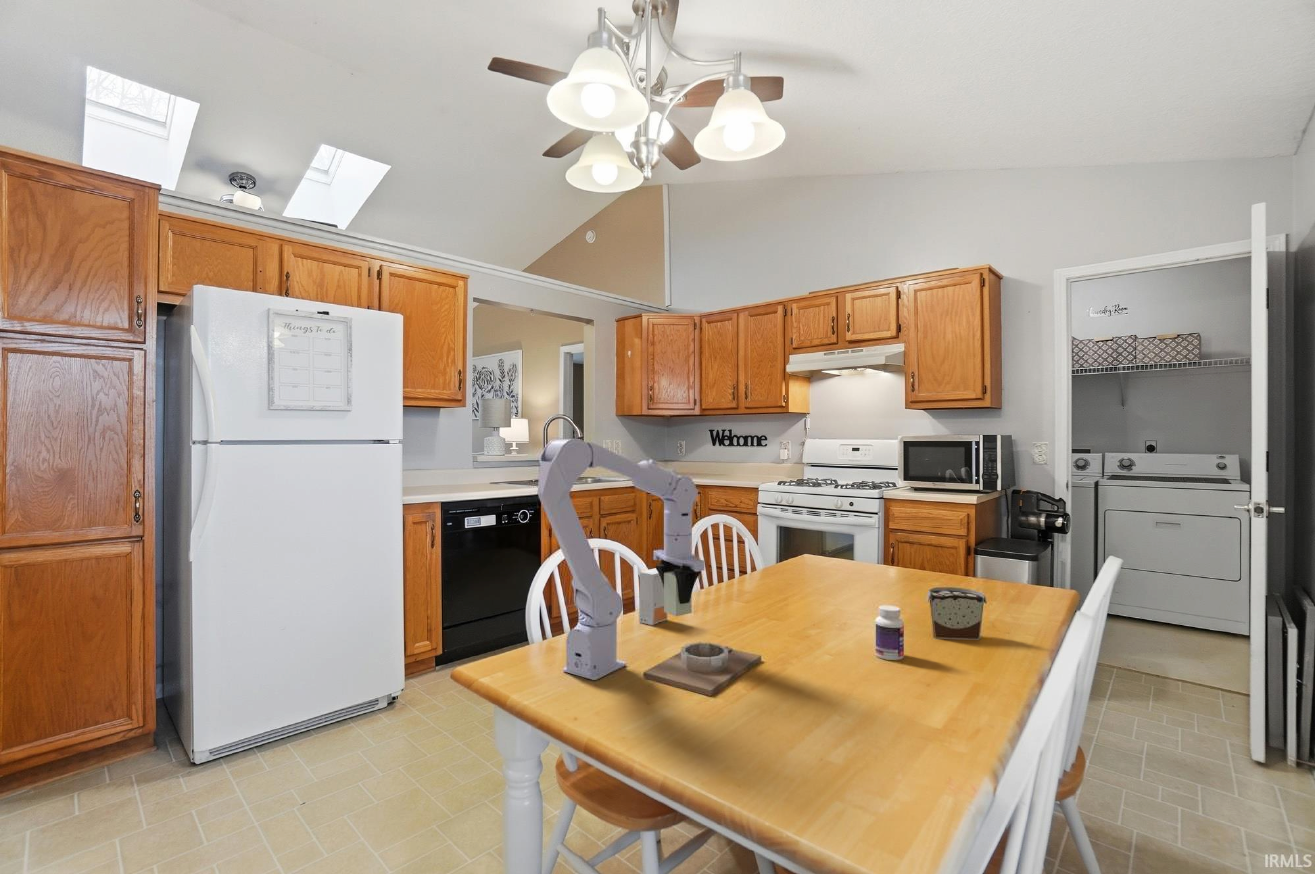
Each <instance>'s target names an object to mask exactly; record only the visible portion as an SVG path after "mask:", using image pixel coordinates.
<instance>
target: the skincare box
mask: <svg viewBox="0 0 1315 874" xmlns="http://www.w3.org/2000/svg"><path fill="white" fill-rule="evenodd" d="M638 597H639V599H638V601H639V606H638V607H639V608H638V613H639V614H638V618H639V619H638V622H639V623H640V622H641V623H640V624H646V625H650V626H654V625H656V624H659V622H660V623H663V622H665V621H667V620H668V613H666V612H664V587H663V583H662V580H661V577H660V575H659V573H658V571H657V569H656V568H651V569H647V570H643V571H640V572H639V595H638Z"/></svg>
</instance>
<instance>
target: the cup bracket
mask: <svg viewBox="0 0 1315 874" xmlns="http://www.w3.org/2000/svg"><path fill="white" fill-rule="evenodd" d="M761 661H762V655H760V654H756V653H751V652H746V651H742V650H737V649H734V648H732V647H729V646H727V645H725V646H723V645H722V644H718V643H713V642H705V641H704V642H700V641H698V642H692V643H688V644H686V645H683V646H682V647H681V648H680V652H678V653H676V654H674V655H672V656H671V657H669V658H667V659H665V660H663V661H661V662H659V663H658V664H656V665H654V666H652V667H649V668H648V669H647V670H644V671H643V676H642V677H643V679H646V680H647V679H648V680H651V681H655V682H658V683H662V684H665V685H668V686H669V685H670V686H672V687H676V688H680V689H682V690H686V691H691V692H693V693H698V694H701V695H705V696H708V697H711V696H713V695H715V694H716V693H717V692H719V691H720V690H721V689H723V688H724V687H726V686H728V685H729V684H730V683H731V682H733V681H734V680H736V679H737V678H739V677H740V676H742V675H743V674H745V673H746V672H747V671H749V670H750V669H752V668H753V667H754V666H756V665H758V663H760V662H761Z"/></svg>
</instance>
